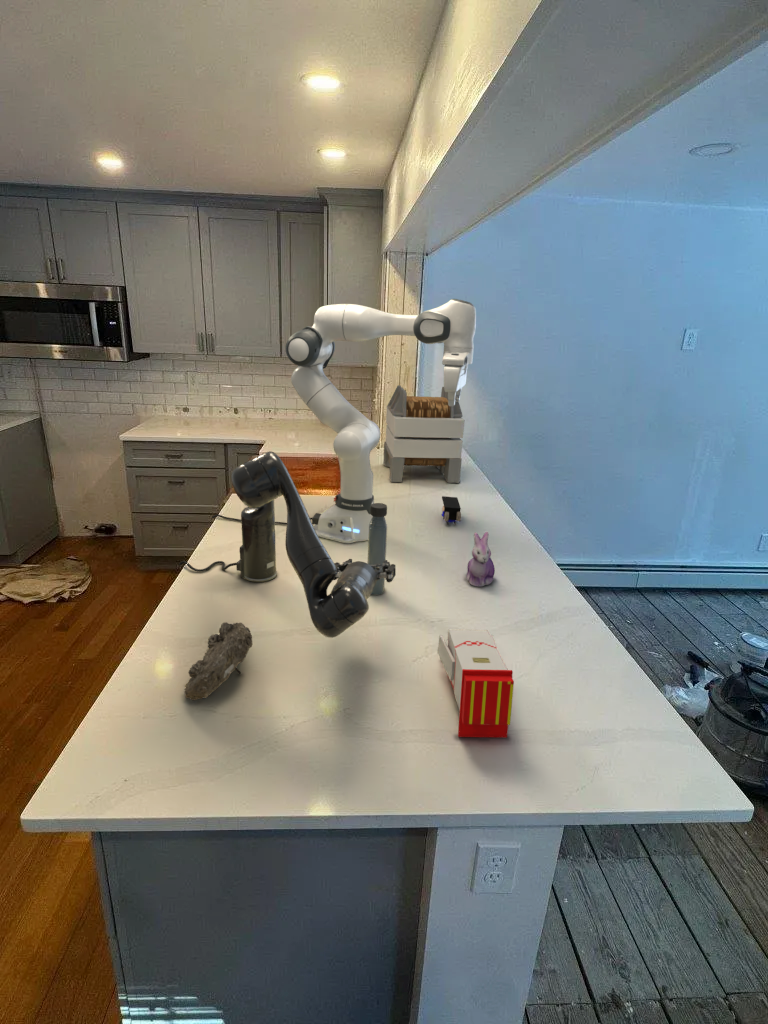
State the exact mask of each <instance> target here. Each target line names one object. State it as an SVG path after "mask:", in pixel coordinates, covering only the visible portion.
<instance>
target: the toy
mask: <svg viewBox="0 0 768 1024" xmlns="http://www.w3.org/2000/svg"><path fill="white" fill-rule="evenodd" d="M446 640H447V643H446V641H445V639H444V636H443V635H442V634H439V637H438V646H437V656H438V657H439V659H440V661H441V663H442V666H443V668H444V670H445V672H446V674H447V677H448V679H449V681H450V684H451V687H452V690H453V693H454V697H455V701H456V705H457V708H458V711H459V714H458V715H459V716H458V730H457V731H458V732H457V737H458V738H508V731H509V726H510V725H511V717H512V707H513V697H514V696H513V695H514V684H515V680H514V679H513V673H514V671H513V670H512V669H508V667H507V665H506V662H505V661H504V659H503V658H502V655H501V653H500V651H499V649H498V647H497V643H496V639H495V637H494V635H493V634H491V632H490V631H489V629H467V628H466V629H465V628H463V629H461V628H460V629H459V628H448V630H447V639H446Z"/></svg>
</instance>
